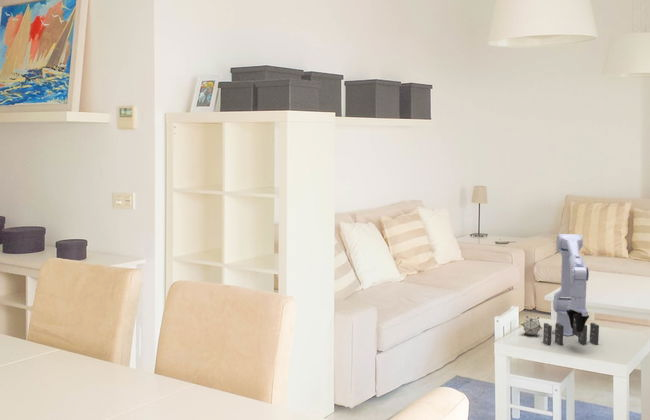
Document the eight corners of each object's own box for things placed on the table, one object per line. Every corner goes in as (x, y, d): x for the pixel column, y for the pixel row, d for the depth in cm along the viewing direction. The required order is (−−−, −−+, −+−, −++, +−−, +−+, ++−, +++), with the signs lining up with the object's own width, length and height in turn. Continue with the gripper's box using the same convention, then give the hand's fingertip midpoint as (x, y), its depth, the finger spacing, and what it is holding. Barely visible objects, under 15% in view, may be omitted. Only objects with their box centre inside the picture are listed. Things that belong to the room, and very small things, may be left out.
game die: (526, 343, 327) (516, 322, 332) (544, 336, 328) (534, 315, 332) (529, 337, 319) (518, 316, 324) (547, 330, 320) (537, 309, 324)
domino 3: (575, 333, 306) (576, 313, 306) (580, 336, 301) (581, 316, 301) (572, 333, 306) (573, 313, 306) (577, 336, 301) (578, 316, 301)
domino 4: (581, 341, 316) (582, 322, 316) (586, 344, 311) (587, 325, 311) (578, 341, 316) (578, 322, 316) (583, 344, 311) (583, 325, 311)
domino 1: (546, 342, 315) (547, 323, 314) (551, 345, 310) (551, 326, 309) (543, 342, 315) (543, 323, 314) (547, 345, 310) (548, 326, 309)
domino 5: (592, 341, 317) (593, 322, 316) (598, 344, 312) (599, 325, 311) (589, 341, 317) (590, 322, 316) (594, 344, 312) (595, 325, 311)
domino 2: (558, 341, 315) (558, 323, 315) (562, 345, 311) (563, 325, 310) (554, 341, 315) (555, 323, 315) (559, 345, 310) (560, 325, 310)
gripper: (561, 292, 309) (560, 325, 311) (576, 300, 295) (574, 334, 296) (578, 292, 310) (576, 325, 311) (593, 300, 295) (592, 334, 297)
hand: (576, 329), depth 304 cm, fingers closed on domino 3, 5 cm apart
